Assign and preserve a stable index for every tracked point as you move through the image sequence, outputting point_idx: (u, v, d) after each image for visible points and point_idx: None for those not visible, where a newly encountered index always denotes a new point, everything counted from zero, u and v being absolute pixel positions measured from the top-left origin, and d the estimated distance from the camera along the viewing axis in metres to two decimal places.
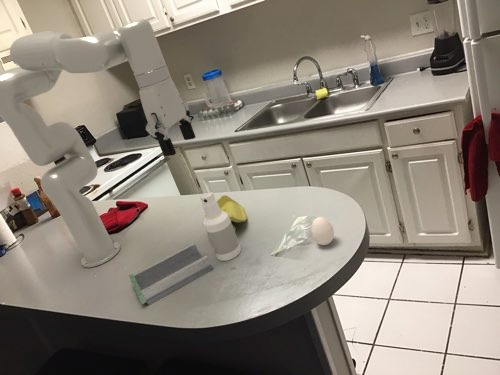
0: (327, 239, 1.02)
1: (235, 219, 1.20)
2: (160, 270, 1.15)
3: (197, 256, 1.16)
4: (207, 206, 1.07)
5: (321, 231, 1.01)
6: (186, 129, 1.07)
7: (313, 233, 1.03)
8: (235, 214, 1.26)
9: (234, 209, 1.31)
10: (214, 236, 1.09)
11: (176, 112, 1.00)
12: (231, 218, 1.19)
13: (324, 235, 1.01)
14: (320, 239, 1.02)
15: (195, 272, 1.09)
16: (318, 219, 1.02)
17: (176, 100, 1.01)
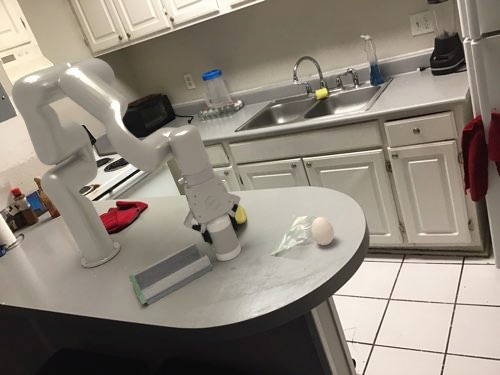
0: (327, 239, 1.02)
1: None
2: (160, 270, 1.15)
3: (197, 256, 1.16)
4: None
5: (321, 231, 1.01)
6: None
7: (313, 233, 1.03)
8: None
9: None
10: (214, 235, 1.09)
11: None
12: None
13: (324, 235, 1.01)
14: (320, 239, 1.02)
15: (195, 272, 1.09)
16: (318, 219, 1.02)
17: None
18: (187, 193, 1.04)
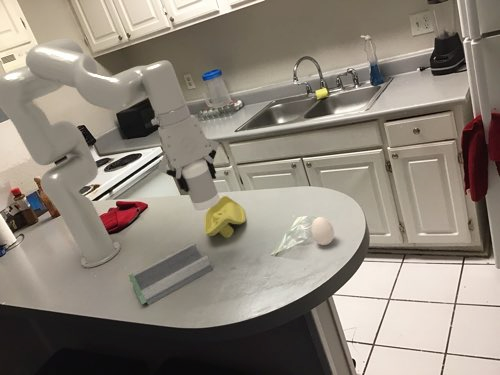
0: (327, 239, 1.02)
1: (233, 221, 1.19)
2: (160, 270, 1.15)
3: (197, 256, 1.16)
4: None
5: (321, 231, 1.01)
6: None
7: (313, 233, 1.03)
8: (234, 216, 1.26)
9: (233, 210, 1.30)
10: (191, 182, 1.03)
11: None
12: (228, 220, 1.18)
13: (324, 235, 1.01)
14: (320, 239, 1.02)
15: (195, 272, 1.09)
16: (318, 219, 1.02)
17: None
18: (161, 134, 0.98)
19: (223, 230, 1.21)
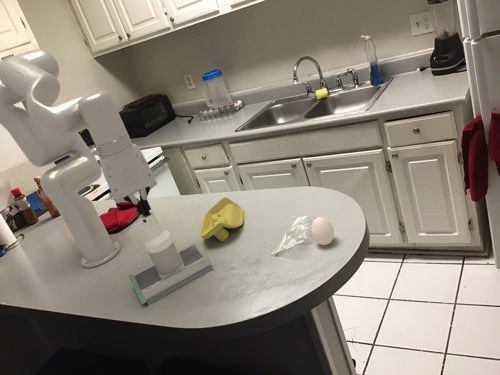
0: (327, 239, 1.02)
1: (227, 225, 1.18)
2: None
3: (197, 256, 1.16)
4: (146, 226, 1.05)
5: (321, 231, 1.01)
6: None
7: (313, 233, 1.03)
8: (230, 219, 1.24)
9: (231, 213, 1.29)
10: (155, 256, 1.06)
11: None
12: (222, 224, 1.17)
13: (324, 235, 1.01)
14: (320, 239, 1.02)
15: (195, 272, 1.09)
16: (318, 219, 1.02)
17: None
18: (101, 165, 0.97)
19: (218, 233, 1.21)
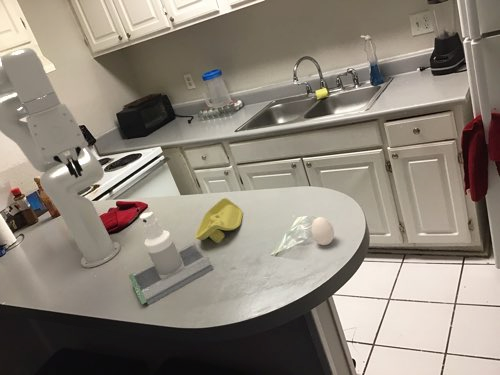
0: (327, 239, 1.02)
1: (221, 227, 1.18)
2: None
3: (197, 256, 1.16)
4: (146, 226, 1.05)
5: (321, 231, 1.01)
6: (73, 165, 1.05)
7: (313, 233, 1.03)
8: (227, 221, 1.24)
9: (229, 214, 1.28)
10: (155, 256, 1.06)
11: None
12: (216, 226, 1.17)
13: (324, 235, 1.01)
14: (320, 239, 1.02)
15: (195, 272, 1.09)
16: (318, 219, 1.02)
17: None
18: (27, 123, 0.97)
19: (213, 235, 1.21)
